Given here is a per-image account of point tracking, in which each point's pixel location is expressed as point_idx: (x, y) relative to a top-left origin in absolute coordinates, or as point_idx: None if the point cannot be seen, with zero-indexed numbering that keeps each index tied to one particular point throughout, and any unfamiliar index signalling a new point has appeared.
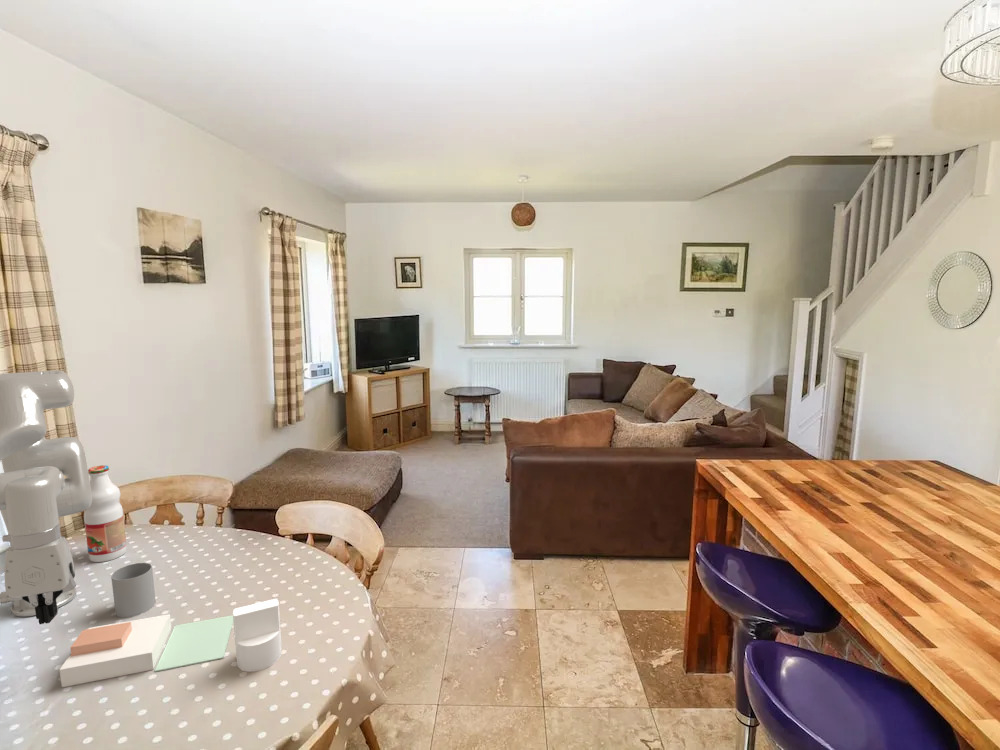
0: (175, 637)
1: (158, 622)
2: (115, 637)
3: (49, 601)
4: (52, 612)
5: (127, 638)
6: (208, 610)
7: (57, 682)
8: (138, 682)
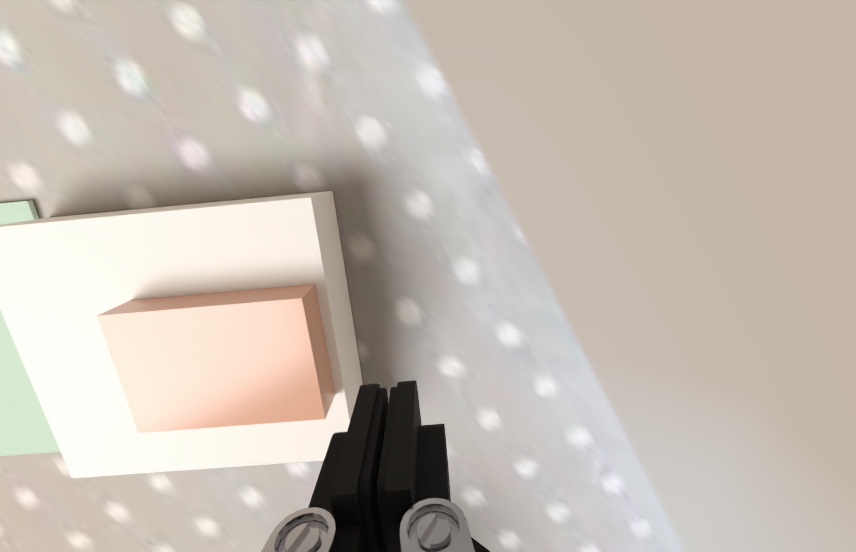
0: None
1: (82, 433)
2: (130, 329)
3: (298, 543)
4: (334, 453)
5: None
6: (57, 506)
7: (366, 225)
8: (58, 152)
